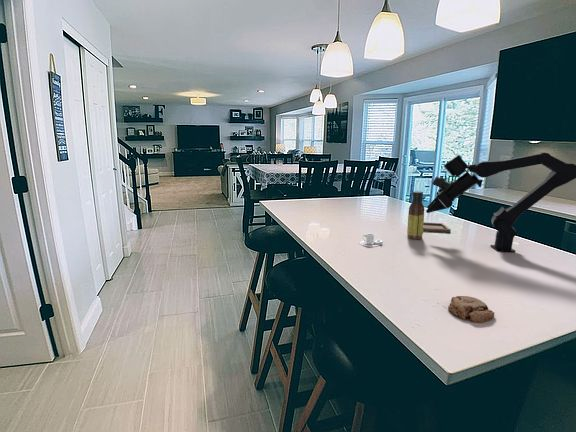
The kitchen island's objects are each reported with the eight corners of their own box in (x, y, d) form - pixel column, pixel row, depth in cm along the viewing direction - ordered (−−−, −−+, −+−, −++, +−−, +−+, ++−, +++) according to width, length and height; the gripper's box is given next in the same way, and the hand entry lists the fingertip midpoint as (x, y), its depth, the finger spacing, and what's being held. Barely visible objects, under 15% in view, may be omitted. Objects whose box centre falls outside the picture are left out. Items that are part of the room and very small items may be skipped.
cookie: (479, 303, 87) (481, 292, 87) (501, 325, 77) (503, 313, 76) (439, 301, 88) (441, 290, 87) (456, 323, 78) (458, 311, 77)
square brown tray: (450, 232, 153) (450, 229, 153) (422, 231, 155) (422, 228, 154) (442, 226, 165) (443, 223, 164) (416, 224, 166) (417, 221, 166)
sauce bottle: (420, 236, 147) (425, 190, 142) (424, 240, 141) (429, 193, 136) (404, 235, 147) (409, 190, 143) (407, 239, 141) (412, 192, 137)
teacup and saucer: (384, 244, 136) (385, 234, 135) (377, 249, 129) (378, 239, 128) (363, 240, 140) (364, 231, 139) (356, 245, 134) (356, 235, 133)
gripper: (446, 168, 142) (415, 192, 149) (446, 171, 126) (412, 198, 132) (465, 188, 141) (433, 211, 148) (467, 195, 124) (431, 220, 131)
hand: (427, 210), depth 140 cm, fingers open, 9 cm apart
